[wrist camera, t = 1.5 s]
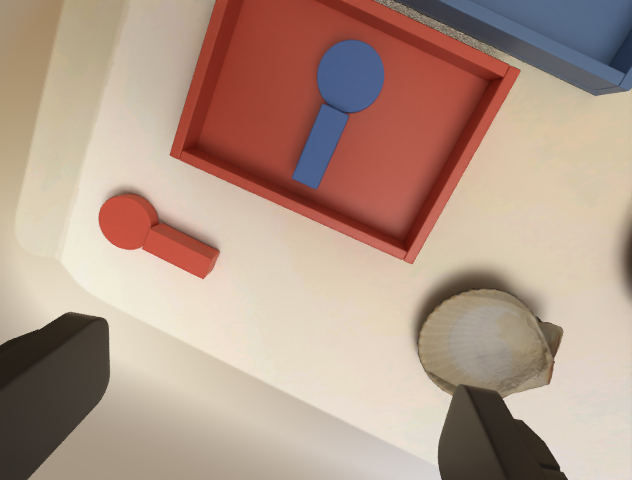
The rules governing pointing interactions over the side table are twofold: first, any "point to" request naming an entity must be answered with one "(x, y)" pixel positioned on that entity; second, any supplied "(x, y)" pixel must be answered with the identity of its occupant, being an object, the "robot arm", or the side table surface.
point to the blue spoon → (339, 103)
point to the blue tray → (550, 35)
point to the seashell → (487, 343)
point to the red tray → (362, 127)
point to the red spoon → (153, 235)
